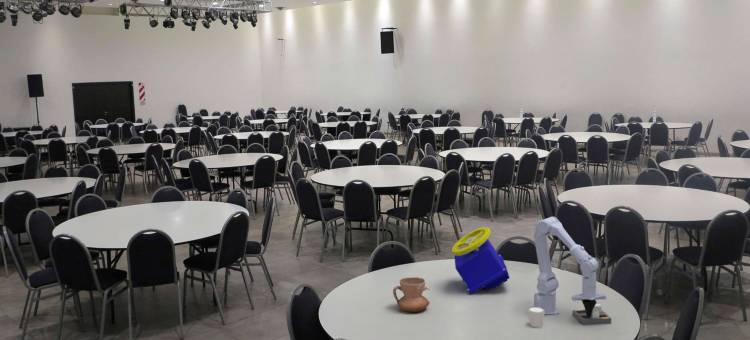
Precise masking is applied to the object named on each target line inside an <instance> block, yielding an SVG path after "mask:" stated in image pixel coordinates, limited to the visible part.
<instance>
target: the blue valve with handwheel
mask: <svg viewBox="0 0 750 340" xmlns="http://www.w3.org/2000/svg"><path fill="white" fill-rule="evenodd" d="M491 234H492V231H491V229H490V228H489V227H487V226H482V227H479V228H477V229H474V230H472V231H469V232H468V233H466V234H465V235H464V236H462V237H461V238H460V239H459V240H458V241H457V242H455V243H454V245H453V246H452V248H451V252H452V254H453V255H454V266H455V267H454V268H455V270H456V272H457V273H458V275H459V276H460V278H461V280H462V281H463V283H465V285H466V289H467V293H468V294H469V295H473V294H474V293H477V292H478V291H480V290H481V289H483V288H485V289H486V290H487V291H489V290H491V289H496V287H499V286H501V285H502V284H503V283H507V282H508V280H509V279H510V278H511V277H510V274H509V271H508V268H507V265H506V263H505V261H504V257H503V256H502V255H501V254H498V251H497V250H496V249H495V248H494V246H493V244H492V242H491V241H490V240H489V238H490V237H491ZM463 246H466V247H464V248H460V247H463Z"/></svg>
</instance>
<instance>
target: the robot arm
mask: <svg viewBox="0 0 750 340" xmlns="http://www.w3.org/2000/svg"><path fill="white" fill-rule="evenodd" d="M549 236H556V237H557V238H558V239H559V240H560V241H561V242H562V243H563V244H564V245H565V246H566V247H567V248H568V249H569V254H570V255H571V256H572V257H573V259H574V260H575V261H576V262H577V263H578V264H579V269H580V271H581V273H582V277H581V278H582V280H581V283H582V285H581V293H579V294H575V295H573V294H572V295H571V300H572V301H573V302H576V301H581V302H582V304H583V307H584V310H585V311H586V315H587V316H591V313H592V310H593V308H594V306H595V305H596V304H598V303H597V300H603V301H604V300H605V301H606V300H607V295H606V293H597V270H598V269H599V261H598V260H597V258H596V257H592V256H591V255H589V253H588V252H587V251H586V250H585V247H584V246H583V245H582V246H581V244H577V243H576V241H574V240H573V238H572V237H571V236H570V235H569V234H568V232H567V230H565V228H564V227H563V224H562V222H560V220H559V219H558V218H557V217H555V216H550V217H547V218H544V219H540V220H539V221H538V222H537V223H536V224H535V230H534V234H533V239H534V244H535V251H536V258H537V263H538V270H539V274H538V276H537V284H536V289H537V291H538V292H536V293H534V294H533V295H534V296H533V307H539V308H543V309H544V315H555V314H556V315H558V314H560V313H559V311H558V310H557V308H556V303H557V302H556V301H557V298H556V296H557V294H556V293H557V289H558V288H559V286H560V283H559V280H558V279H557V277H556V274H555V272H554V271H553V270H552V269H553V268H552V265H551V264H552V263H551V259H550V258H551V257H550V251H549V245H548V239H547V238H548V237H549Z"/></svg>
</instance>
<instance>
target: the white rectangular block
mask: <svg viewBox="0 0 750 340" xmlns="http://www.w3.org/2000/svg"><path fill="white" fill-rule="evenodd" d="M590 318H599V310H597V309H593V310H592V313H591V316H590Z"/></svg>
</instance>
